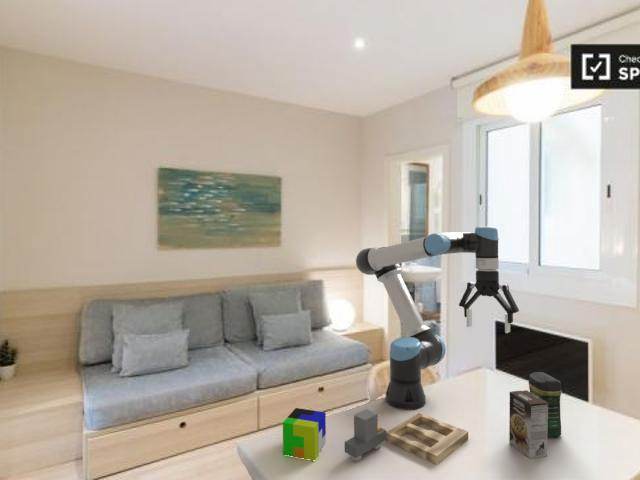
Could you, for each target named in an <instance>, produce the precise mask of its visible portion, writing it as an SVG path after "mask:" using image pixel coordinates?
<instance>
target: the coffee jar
mask: <svg viewBox="0 0 640 480" xmlns="http://www.w3.org/2000/svg"><path fill="white" fill-rule="evenodd" d="M528 387H529V388H528V389H529V392H530V393H532V394H534V395H536V396H537V397H539V398H541V399H543V400H544V401H546V402H548V434H547V438H550V439H555V438H558V437H561V435H562V421H561V418H562V417H561V395H562V391H563V390H562V383H561V381H560V380H558V379H556V378H555V377H553V376H551V375H549V374H547V373H545V372H543V371H541V372H540V371H538V372H537V371H535V372H534V371H533V372H531V373H530V374H529V378H528Z"/></svg>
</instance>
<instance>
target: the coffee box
mask: <svg viewBox="0 0 640 480" xmlns="http://www.w3.org/2000/svg"><path fill="white" fill-rule="evenodd" d="M508 434H509V438H508V439H509V444H510V445H512V446H514V448H515V449H517V450H518V451H519V452H521V453H523V455H525V456H526V457H527V458H529V459H536V458H542V457H548V437H547V434H548V402H546V401H544V400H543V399H541V398H539V397H537V396H536V395H534V394H532V393H530V390H515V391H514V390H513V391H509V433H508Z"/></svg>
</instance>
